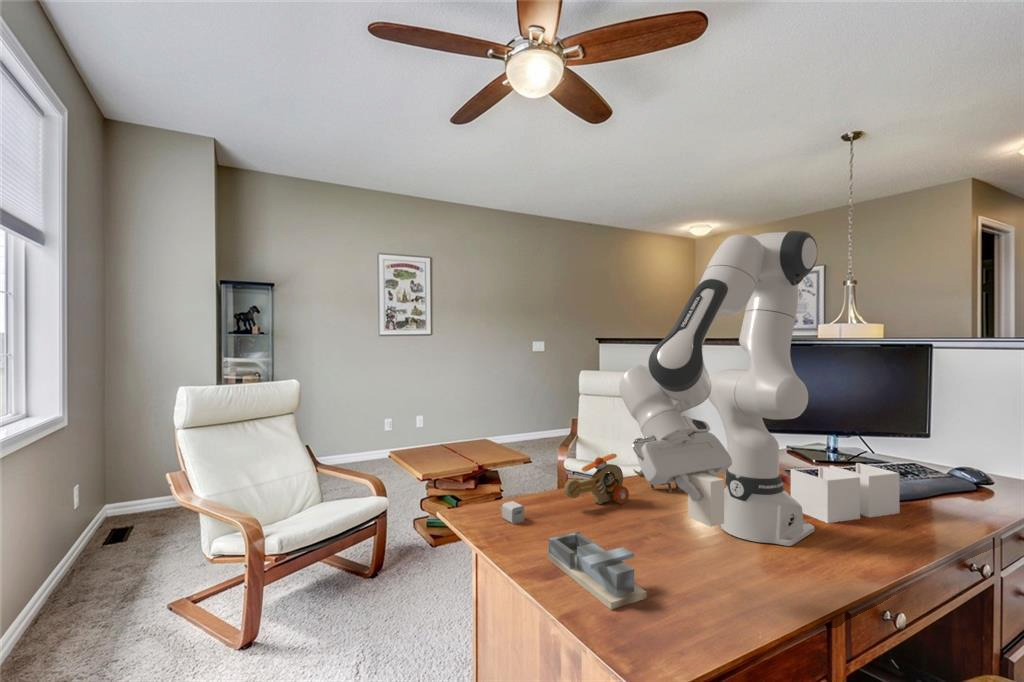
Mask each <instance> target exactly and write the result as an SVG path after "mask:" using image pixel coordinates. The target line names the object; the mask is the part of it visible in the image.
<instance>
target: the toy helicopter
mask: <svg viewBox="0 0 1024 682" xmlns="http://www.w3.org/2000/svg"><path fill="white" fill-rule="evenodd" d="M617 457H618V455H617V454H616V453H611V454H608V455H605V456H603V457H599V456H598V457H596V458H595V459H594V461H592V462H590V463H588V464H586V465H585V466H583V467H582V468H581V471H582V472H584V473H586V472H588V471H590V470H592V469H595V472H594V473H593V475H592V476H591V477H589V478H585V479H581V480H579V481H578V480H577V479H568V480H567V481H566V482H565V484H564V488H563V492H564V494H565V495H566V497H568V498H571V499H576V498H578V497H579V496H580V495H581V494H583V493H592V495H593V500H594V503H595V502H596V503H595V504H597V503H598V505H600V504H601V505H603V504H604V502H606V501H612V500H613V501H614V502H616V503H617V504H618V505H623V504H626V502H627V501H628V499H629V495H630V494H629V493H630V492H629V489H628V487H626V486H623V483H624V481H623V480H624V475H623V469H622V468H621V467H620V466H619V465H617V464H612V463H607V462H608V461H610V460H614V459H616V458H617ZM602 503H603V504H602Z"/></svg>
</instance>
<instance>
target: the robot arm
mask: <svg viewBox="0 0 1024 682" xmlns="http://www.w3.org/2000/svg"><path fill="white" fill-rule="evenodd" d="M817 260H818V244H817V242H816V239H815V238H814V237H813V235H811V233H809V232H806V231H802V230H801V231H800V230H790V231H781V232H780V231H778V232H777V231H776V232H773V231H772V232H763V233H760V234H755V235H748V234H741V233H740V234H733V235H730V236H729V237H727V238H725V239H724V240H723V241H722V242H721V243H720V245H719V247H718V248H716V251H715V252H714V254H713V255H712V257H711V258H710V260H709V262H708V264H707V265H706V268H705V270H704V272H703V274H702V276H701V278H700V281H699V283H698V285H697V286H696V287H695V289H694V290H693V292H692V293H691V295H690V297H689V299H688V300H687V302H686V303H685V306H684V307H683V310H682V311H681V313H680V315H679V316H678V318H677V320H676V322H675V324H674V325H673V327H672V328H671V330H670V331H669V333H668V334H667V335H666V336H665V337H664V338H663V339H661V340H660V342H658V344H656V346H655V347H654V348H653V349H652V350H651V352H650V354H649V357H648V363H647V364H648V365H642V364H637V365H635V366H632V367H631V368H629V369H628V370H627V371H625V372H624V374H623V375H622V376H621V379H620V380H619V383H618V384H619V385H618V389H619V394H620V397H621V398H622V401H623V403H624V405H625V406H626V409H627V410H628V412H629V414H630V416H632V418H633V419H634V420H635V421H636V422H637V423H638V425H639V429H640V432H641V433H642V435H643V437H638V438H635V439H634V441H633V442H632V446H631V448H632V450H633V452H634V453H635V455H636V458H637V462H638V464H639V467H640V470H641V469H642V472H643V474H644V476H645V480H646V481H647V483H648V484H650V485H651V484H652V485H654V486H661V485H660V484H665V483H670V484H672V483H675V482H676V483H677V485H678V487H680V488H681V491H684V492H685V493H686V494H689V496H690V497H691V499H692V501H694V502H695V501H699V500H701V499H702V498H704V494H703V493H702V492H701V490H700V488H695V487H694V486H693V485H692V484H691V483H690V482H689V481H688V480H689V477H688V475H690V474H695V473H701V472H702V473H705V474H709V475H712V476H715V477H718V474H723V473H725V476H724V477H725V484H726V487H724V523H723V524H720V528H721V529H722V531H724V532H725V533H727V534H729V535H731V536H733V537H737V538H739V539H743V540H746V541H749V542H755V543H764V544H776V545H782V546H787V547H790V546H793V545H795V544H796V543H799V542H800V541H802V539H804V538H806V537H807V536H809V535H811V534H813V533H814V532H815V526H814V525H813V524H811V523H809V522H807V521H806V520H804V513H803V511H802V507H801V505H800V504H799V503H798V502H797V501H796V500H795V499H794V498H792V497H791V494H789V493H788V492H787V491H786V490H785V485H784V483H785V484H791V475H789V474H784V473H780V445H779V442H778V440H777V439H776V437H775V436H773V434H771V432H770V431H769V430H768V428H767V426H766V424H765V422H764V420H763V419H768V420H792V419H797V418H798V417H800V416H802V414H803V413H804V412H805V410H806V409H807V406H808V404H809V391H808V388H807V386H806V385H805V383H804V382H803V380H801V379H800V378H799V376H798V375H797V374H796V371H795V370H794V366H793V364H792V359H791V345H792V337H793V333H794V327H795V322H796V318H797V313H798V305H799V304H798V303H799V301H798V300H799V288H798V285H799V284H800V283H801V282H802V281H803V280H804V278H805V277H807V276H808V275H809V274H810V273H811V272H812V271H813V269H814V267H815V265H816V263H817ZM745 307H746V308H745ZM744 309H745V311H744V315H743V316H744V317H743V321H742V325H741V328H740V334H739V336H738V337H739V338H738V343H739V345H740V347H741V349H743V350H744V351H745V352H746V353H747V354H748V357H749V358H748V359H749V368H748V369H739V368H729V369H724V370H719V371H716V372H713V374H712V375H709V373H708V370H707V368H706V366H705V363H704V355H703V346H704V342H705V340H706V339H707V336H708V334H709V333H710V330H711V329H712V327H713V325H714V323H715V320H716V318H717V317H732V316H735V315H738V314H739V313H741V312H743V310H744ZM707 399H708V400H709V402H710V403H711V404H712V405H713V406H714V408H715V409H716V412H717V413H718V414H719V417H720V420H721V422H722V425H723V428H724V432H725V435H726V436H725V437H726V443H727V444H726V445H727V449H726V448H725V446H724V445H723V443H722V442H721V441H720V440H719V439H718V438H717V436H716V435H715V434H714V433H712V432H710V431H711V427H710V425H709V424H708V423H707V422H706V421H704V420H699V419H695V418H692V417H689V416H687V415H683V414H682V412H685V411H688V410H690V409H693V408H695V407H698V406H700V405H701V404H703V403H705V401H707Z"/></svg>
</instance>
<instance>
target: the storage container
mask: <svg viewBox="0 0 1024 682" xmlns="http://www.w3.org/2000/svg"><path fill="white" fill-rule="evenodd" d="M817 468H818V476H815V475H813V474H808V473H806V472H802V471H799V470H796V469H795V468H792V469H790V477H791V478H790V479H791V481H790V496H791V497H792V498H794V499H795V500H796V501H797V502H798V503H799V504H800V505H801V507H802V511H803V515H807V516H808V517H812V518H814V519H816V520H817V521H818V520H819V521H821V522H824V523H826V524H832V523H837V522H838V523H839V521H840V522H844V521H853V520H854V519H855V520H860V519H861V516H863V517H866V518H876V517H882V516H883V515H884V516H890V514H891V515H896V514H897V513H898V514H900V472H896V471H891V470H888V469H884V468H880V467H878V466H877V467H876V466H873V465H868V464H864V463H860V462H856V463H855V471H853V470H852V471H851V470H849V469H846V468H845V469H844V468H841V467H838V466H835V465H829V467H826V466H825V467H824V466H818V467H817ZM860 514H861V515H860ZM898 514H897V515H898ZM884 516H883V517H884Z"/></svg>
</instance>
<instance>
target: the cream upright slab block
mask: <svg viewBox="0 0 1024 682" xmlns="http://www.w3.org/2000/svg"><path fill="white" fill-rule="evenodd" d="M688 477H689V480H688V481H689V482H690V483H691V484H692V485H693V486H694V487H695V488H700V490H701V492H702V493H703V494H704V498H702V499H701V500H699V501H695V502H694V501H692V499H691V497H690V496H689V494H688V496H687V497H688V518H690V519H692V520H694V521H696V522H699V523H701V524H703V525H705V526H708V527H710V528H712V527H715V526H719V525H720V524H723V523H724V489H725V479H724V478H720V477H718V476H717V477H715V476H712V475H709V474H705V473H702V472H701V473H695V474H690V475H688Z"/></svg>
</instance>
